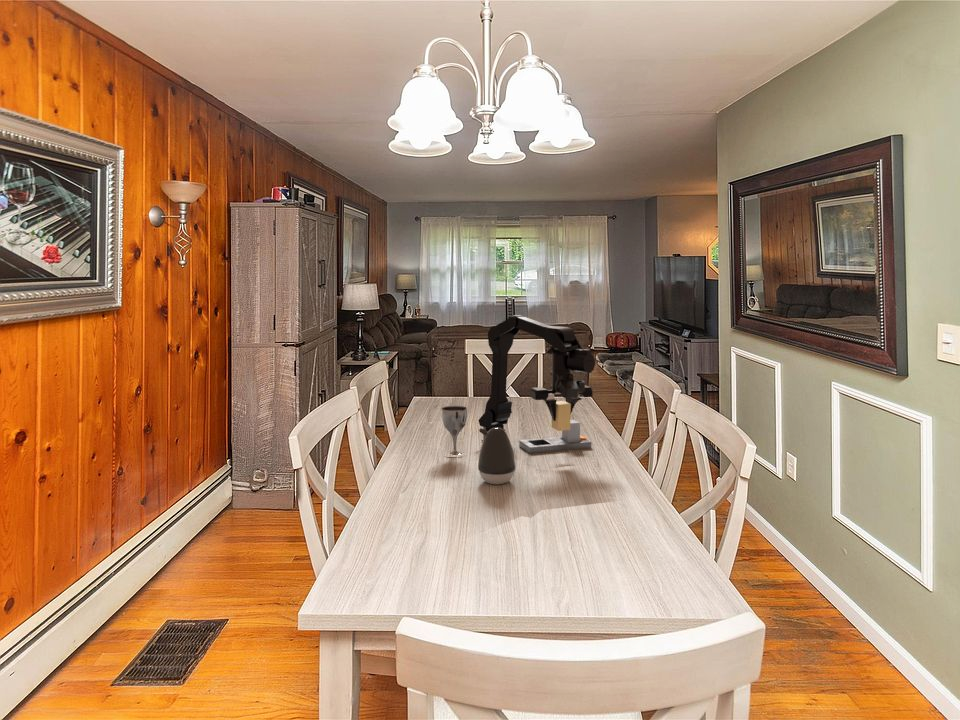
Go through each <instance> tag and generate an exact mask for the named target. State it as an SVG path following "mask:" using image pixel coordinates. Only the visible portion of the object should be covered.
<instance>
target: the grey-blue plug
mask: <svg viewBox="0 0 960 720" xmlns="http://www.w3.org/2000/svg"><path fill="white" fill-rule="evenodd" d="M580 436H581V422H579V421H578V420H576V419H570V430H563V431H561V437H562V440H563V441H565V442H567V443H571V442H580Z"/></svg>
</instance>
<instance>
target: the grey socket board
mask: <svg viewBox="0 0 960 720" xmlns="http://www.w3.org/2000/svg"><path fill="white" fill-rule="evenodd" d="M518 441H519V445H518V447H520V448H521V449H522V450H524V451H525V452H527V453H528V454H529V455H531V454H542V453H543V454H545V453H552V452H553V453H555V452H565V451H574V450H575V451H576V450H589V449H592V441H591V440H589V439H587V437H585V436H583V435H580V442H571V443H567V442H565V441H563V440H562V436H553V437H551V436H550V437H542V438H530V439H519V440H518Z"/></svg>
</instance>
